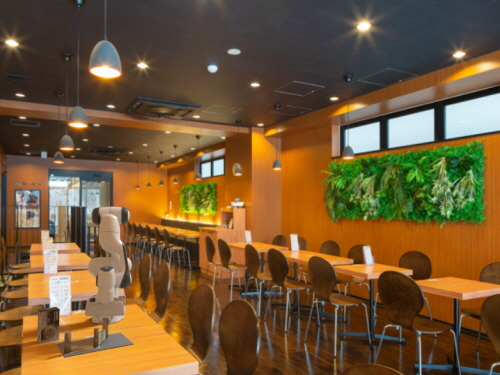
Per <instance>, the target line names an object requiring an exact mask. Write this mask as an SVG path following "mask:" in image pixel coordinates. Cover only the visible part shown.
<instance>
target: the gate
mask: <svg viewBox="0 0 500 375" xmlns="http://www.w3.org/2000/svg"><path fill="white" fill-rule="evenodd" d="M108 321H109V318H107V317H106V318H103V324H101V326H102V329H101V330H99V344H100V343H101V342H102V341H103V340H104V339H105V338H108V335H109V324H108Z"/></svg>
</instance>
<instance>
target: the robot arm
mask: <svg viewBox="0 0 500 375" xmlns="http://www.w3.org/2000/svg"><path fill="white" fill-rule="evenodd" d="M130 217H131V215H130V211H129V208H127V207H124V206H104V207H98V206H97V207H94V208H93V209H92V211H91V214H90V219H91V221H92V224H94V225H97V226H98V227H99V229H98V243H99V245H100V247H101V248H102V250H103V251H104V252H107V253H108V254H109V253H110V256H99V257H94V258H91V259H90V260H89V261H88V264H87V270H88V273H90V274H91V275H92V276H93V277H94V278H95V286H96V287H97V291H96V293H97V294H94V295H92V296H90V297H88V298H87V303H86V305H85V308H84V309H85V311H84V315H85V316H86V317H91V322H92V324H98V325H99V326H100V325H101V326H102V324H103V318H106V317H107V318H109V321H108V325H112V324H113V323H117V322H120V321H122V320H124V319H125V316H124V315H125V314H126V304H127V303H126V302H127V301H126V299H125V298H124V297H120V294H119V293H120V292H119V291H120V289H124V290H125V289H128V287H130V285H131V284H132V281H133V280H132V279H133V278H132V275H131V272H130V271H131V270H132V268H133V267H132V266H133V264H132V261H131V259H130V258H129V257H128V253H127V249H126V248H127V247H126V244H125V242H123V241H122V240H121V227H123V226H124V225H127V223H128V222H129V220H130ZM120 225H121V226H120Z"/></svg>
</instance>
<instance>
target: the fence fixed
mask: <svg viewBox="0 0 500 375" xmlns="http://www.w3.org/2000/svg"><path fill="white" fill-rule="evenodd" d="M99 332H100V328H99V327H95V328H93V336H91V337H86V338H80V339H74V340H72V331H69V332H68V331H67V332H64V335H63V337H64V339H63V340H64V341H63V342H64V353H65V354H67V353H70V352H74V351H80V350H85V349H91V348H98V347H99ZM93 337H94V338H93ZM93 343H94V345H93Z"/></svg>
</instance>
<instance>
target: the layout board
mask: <svg viewBox="0 0 500 375" xmlns="http://www.w3.org/2000/svg"><path fill="white" fill-rule="evenodd" d="M92 337H93V338H94V336H92ZM56 345H57V347H58V349H59V350H60V352H61V354H62V355H63V357H64V358H68V357H69V358H70V357H74V356H79V355H83V354H84V355H85V354H86V355H87V354H89V353H95V352H96V353H97V352H101V351H106V350H111V349H116V348H123V347H127V346H133V345H134V343H133V341H131V340H130V339H129V338H128V337H126V336H125V335H124V334H123V333H122V332H116V333H110V334H109V333H108V338H105V339H104V340H103V341H102V342H101V343H100V344H99V347H98V348H91V349H85V350H80V351H74V352H70V353H67V354H65V353H64V341H63V342H62V341H61V342H57V343H56ZM93 345H94V343H93Z"/></svg>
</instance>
